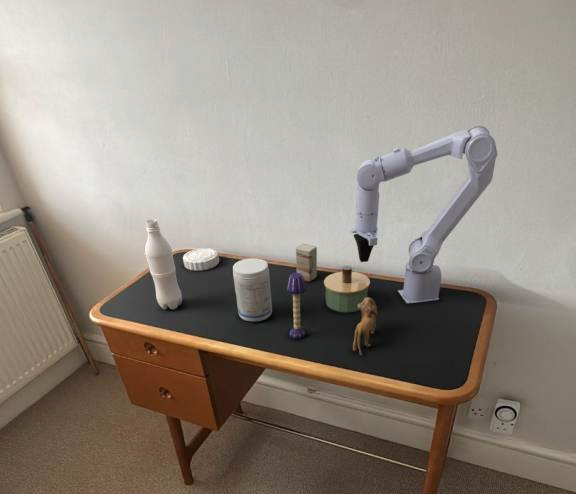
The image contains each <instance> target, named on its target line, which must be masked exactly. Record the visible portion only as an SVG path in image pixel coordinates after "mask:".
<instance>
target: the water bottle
mask: <svg viewBox="0 0 576 494" xmlns="http://www.w3.org/2000/svg"><path fill="white" fill-rule="evenodd" d="M145 226H146V233H147V239H146V243H145V247H144V254H145V257H146V260H147V264H148V268H149V273H150V275H151V277H152V280H153V283H154V288H155V296H156V297H155V298H156V301H157V304H158V305H159V307H160V308H161V309H162V310H168V308H169V310H176V309H177V308H178V306H181V305H182V303H183V302H182V301H183V293H182V290H181V288H180V286H179V283H178V280H177V271H176V265H175V264H176V263H175V260H174V256H173V250H172V246H171V244H170V243H169V242H168V241H167V239H166V238H165V237H164V236H163V234H162V233H161V227H160V225H159V222H158V219H157V218H150V219H147V220H145Z"/></svg>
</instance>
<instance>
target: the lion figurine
mask: <svg viewBox="0 0 576 494" xmlns="http://www.w3.org/2000/svg"><path fill="white" fill-rule="evenodd" d="M357 306H358V309H359V310H358V311H360V312H361V320H360V322H358V324H357V325H356V329H355V330H354V338H353V343H352V351H358V352H359V355H360V356H363V350H362V349H361V335H362V337H363V339H364V345H365V347H366V348H369V347H370V346H372V345H371V343H369V341H370V334H372V335H374V334H375V330H376V326H377V320H378V314H379V313H378V308H377V307H378V306H377V304H376V301H375V300H374V299H373V298H372V297H369V296H368V297H367V298H364V301H363V302H362V303H359V304H358V305H357Z"/></svg>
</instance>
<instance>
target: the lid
mask: <svg viewBox="0 0 576 494" xmlns="http://www.w3.org/2000/svg"><path fill="white" fill-rule="evenodd" d="M341 269H342V270H341V271H338V272H334V273H333V272H332V273H331V274H329V275H327V276H326V277H325V278H324V280H323V285H324V287H325V289H326V288H327V289H328V290H330V291H333V292H336V293H343V294H351V293H357V292H361V291H363V290H365V289H367V288H368V289H369V287H370V284H371V280H370V278H369V277H368V276H367V275H366V274H363V273H360V272H357V271H353V267H352V266H351V265H344V266H342V268H341Z"/></svg>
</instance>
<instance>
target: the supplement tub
mask: <svg viewBox="0 0 576 494" xmlns="http://www.w3.org/2000/svg"><path fill="white" fill-rule="evenodd" d="M232 276H233V285H234V292H235V297H236V305H237V306H236V307H237V313H238V316H239V317H240V318H241V319H242V320H243V321H246V322H249V323H250V322H251V323H256V322H262V321H265V320H266V319H267V320H268V319H269V317H270V316H272V313H273V302H272V301H273V300H272V291H271V279H270V268H269V263H268V262H267V261H266V260H264V259H261V258H255V257H253V258H251V257H250V258H245V259H240V260H238V261H237V262H235V263H234V264H233V266H232Z"/></svg>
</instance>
